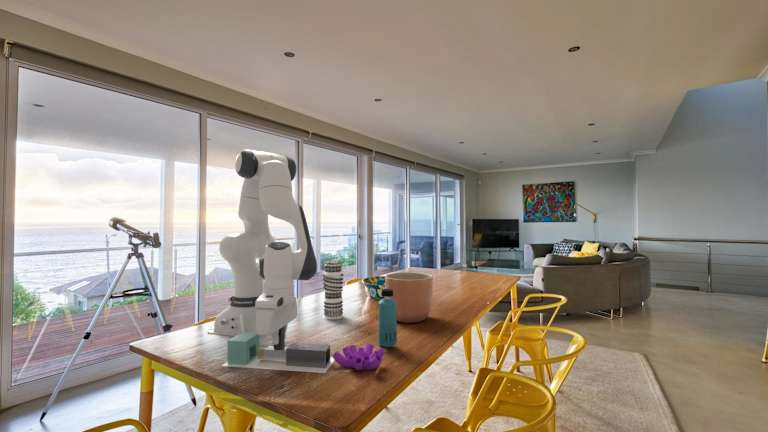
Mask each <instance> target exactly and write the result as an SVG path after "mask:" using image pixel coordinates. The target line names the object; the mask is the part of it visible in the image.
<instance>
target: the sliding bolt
mask: <svg viewBox="0 0 768 432" xmlns="http://www.w3.org/2000/svg"><path fill="white" fill-rule="evenodd" d="M278 336H279V337H280V343H278V344H277V345H275V344H273V345H262V346H260V348H259V349H258V359H266V360H282V361H286V348H287V347H288V346H285V345H286V344H285V341H286V340H285V339H286V338H285V328H280V329H279V333H278Z"/></svg>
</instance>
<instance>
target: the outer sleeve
mask: <svg viewBox="0 0 768 432" xmlns="http://www.w3.org/2000/svg"><path fill="white" fill-rule="evenodd" d="M286 347H287V348H286V366H300V367H315V368H326V366H327V365H328V364H329V362H330V357H331V344H322V343H321V344H320V343H305V342H304V343H303V342H292V343H290V345H289V346H286Z"/></svg>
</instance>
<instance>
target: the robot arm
mask: <svg viewBox="0 0 768 432" xmlns="http://www.w3.org/2000/svg"><path fill="white" fill-rule="evenodd" d="M234 164H235V166H234V167H235V172H236V173H237V175H238V176H239V177H241V178H244V179H243V183H242V186H241V192H240V196H239V197H240V198H239V199H240V200H239V205H238V206H239V207H238V212H237V215H238V217H239V219H240V220H241V221H242V222H243V226H244V232H235V233H232V234H230V235H227V236H224V237H223V238H222V239H221V241H220V243H219V247H218V248H219V250H218V251H219V253H220V256H221V257H222V258H223V259H224V260H225V261H226V262H227V263H228V264H229V267H230V268H231V272H232V276H233V289H234V290H233V293H234V294H233V295H232V296H231V297H230V298H228V300H227V302H228V303H229V302H230V304H229V305H228V306H227V307H226V308H225V309H224V310H222V311H221V312H220V313H218V314H217V315H216V317H215V318H214V324H213V326H212V327H211V328H209V329H208V330H207V335H211V336H212V335H214V336H215V335H216V336H230V337H231V336H232V337H234V336H236V335H238V334H240V333H241V332H251V333H258V335H259V336H260V337H271V343H272V344H273V345H274V344H275V345H277V344H278V343H280V337H279V336H278V333H279V329H280V328H285V339H286V338H287V337H286V335H287V334H286V333H287V329H288V324H289V323H291V322H292V321H294V320H295V319H297V317H298V303H297V297H296V296H295V292H294V291H295V290H294V289H295V288H294V287H295V285H294V281H310V279H312V278H313V277H314V276H315V275H316V274H317V272H318V259H317V256H316V255H315V252H314V248H313V244H312V240H311V235H310V234H311V233H310V230H309V227H308V226H309V225H308V223H307V221H308V220H307V218H306V215H305V211H304V209H303V207H302V205H300V204H298V203H297V202H296V200H295V198H294V196H293V185H292V181H294V180H295V178H296V176H297V175H296V174H297V164H296V162H295V160H294V159H293V158H292V157H289V156H286V155H285V156H284V155H281V154H278V153H273V152H268V151H267V152H266V151H260V150H259V151H258V150H252V149H243V150H241V151H239V152H238V154H237V156H236V159H235V163H234ZM269 216H271V217H273V218H276V219H279V220H281V221H284V222H286V223H289V224H290V225H291V226H292V227H294V230H295V234H296V236H297V237H296V238H297V241H298V246H299V249H298V250H293V249H292V248H293V247H292V245H291V244H290V243H288V242H283V241H275V238H274V236H273V235H272V234H271V232H270V227H269ZM257 259H258V263H259V268H258V266H257V262H256V261H257Z"/></svg>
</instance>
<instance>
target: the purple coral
mask: <svg viewBox="0 0 768 432" xmlns="http://www.w3.org/2000/svg"><path fill="white" fill-rule="evenodd" d="M373 350H374V344H373V343H369V342H367V343H366V345H365V347H358V349H357V346H356V344H351V345H349V346H348V345H347V346H345V347H343V348H342V352H343V354H342V353H341V352H340V351H338V350H337V351H335V352H334V353H333V354H332V357H333V358H334V362H335V363H337V364H338V365H340V366H342V367H344V368H350V369H351V368H354V369H355V370H356V371H361V370H367V371H368V370H369V371H370V370H374V369H376V368H378V366H380V364H381V363H382V361H383V357H384V356H385V353H386V351H385V350H384V348H382V347H380V346H379V347H378V348H377V350H375V351H373Z"/></svg>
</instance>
